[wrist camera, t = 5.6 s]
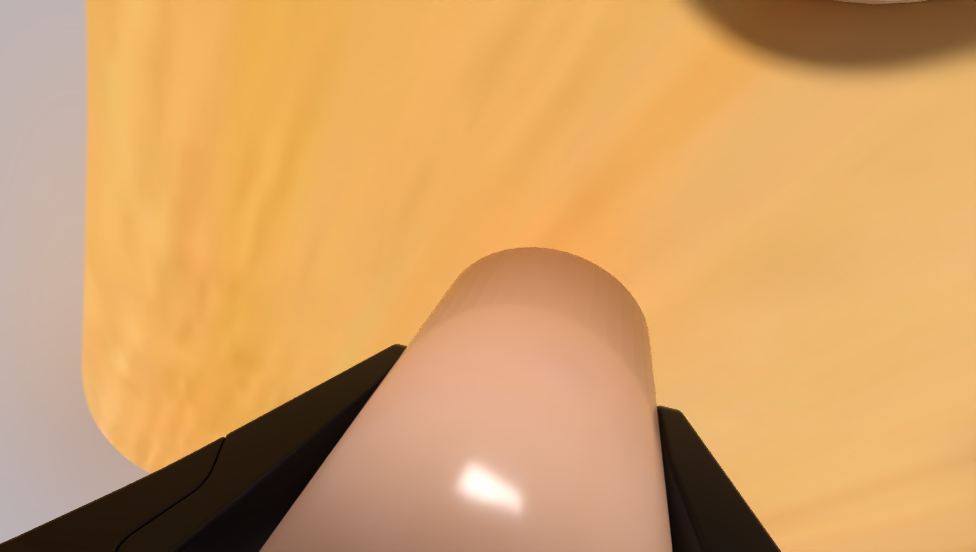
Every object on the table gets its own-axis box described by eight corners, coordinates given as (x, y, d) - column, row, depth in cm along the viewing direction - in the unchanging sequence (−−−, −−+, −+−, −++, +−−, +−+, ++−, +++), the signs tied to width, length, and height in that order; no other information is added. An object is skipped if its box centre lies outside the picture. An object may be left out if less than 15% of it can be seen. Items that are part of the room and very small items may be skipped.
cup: (622, 437, 10) (628, 930, 4) (442, 391, 11) (261, 739, 5) (677, 269, 7) (851, 897, 2) (440, 230, 8) (105, 562, 3)
